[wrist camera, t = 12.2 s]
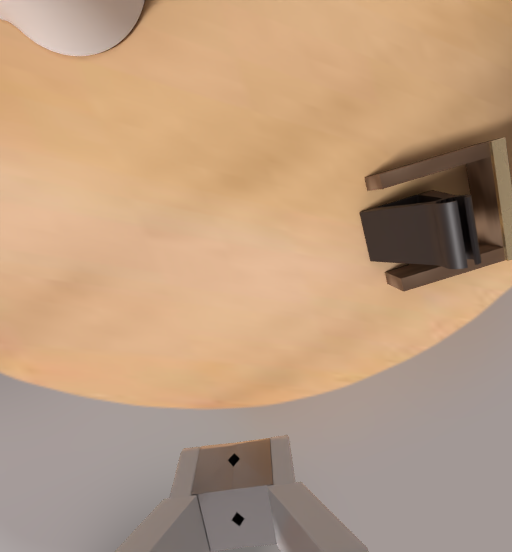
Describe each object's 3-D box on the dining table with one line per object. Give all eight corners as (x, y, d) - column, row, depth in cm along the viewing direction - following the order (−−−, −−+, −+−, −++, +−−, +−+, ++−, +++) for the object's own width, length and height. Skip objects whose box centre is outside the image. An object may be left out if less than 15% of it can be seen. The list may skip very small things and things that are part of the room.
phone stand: (431, 190, 41) (512, 183, 30) (439, 239, 43) (521, 252, 31) (358, 211, 41) (411, 213, 29) (369, 260, 42) (423, 281, 31)
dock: (364, 177, 40) (380, 174, 36) (475, 144, 41) (505, 137, 36) (387, 283, 43) (405, 292, 39) (491, 251, 43) (520, 256, 39)
